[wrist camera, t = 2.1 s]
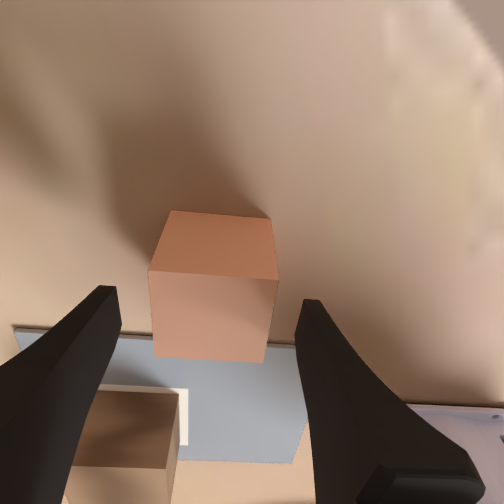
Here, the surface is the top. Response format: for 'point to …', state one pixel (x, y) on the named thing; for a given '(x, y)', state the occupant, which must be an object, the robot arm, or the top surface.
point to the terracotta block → (213, 287)
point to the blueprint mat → (215, 398)
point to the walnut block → (126, 450)
